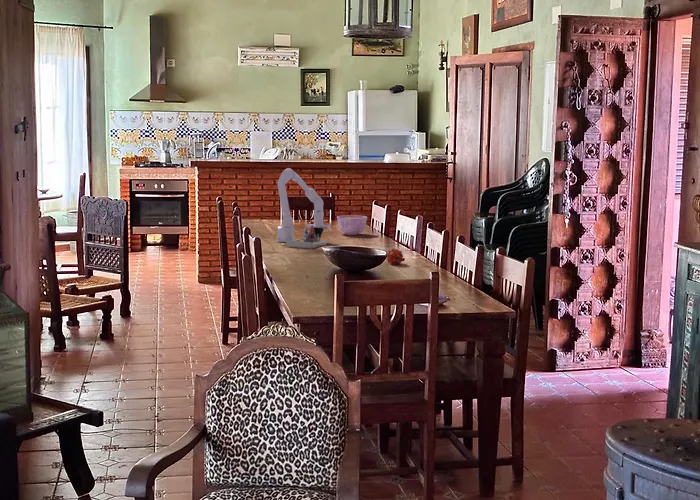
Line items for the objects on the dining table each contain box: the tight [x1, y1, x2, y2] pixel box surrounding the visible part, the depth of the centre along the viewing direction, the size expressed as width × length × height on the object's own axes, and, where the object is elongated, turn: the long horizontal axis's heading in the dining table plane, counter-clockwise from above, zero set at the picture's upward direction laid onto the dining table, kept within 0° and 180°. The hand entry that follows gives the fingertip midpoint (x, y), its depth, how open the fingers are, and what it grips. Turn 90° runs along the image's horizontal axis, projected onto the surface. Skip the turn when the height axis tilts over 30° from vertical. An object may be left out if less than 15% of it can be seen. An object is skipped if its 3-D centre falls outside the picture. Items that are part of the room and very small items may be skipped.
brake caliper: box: [301, 225, 321, 243], centre depth 509 cm, size 11×11×12 cm
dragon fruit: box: [387, 248, 406, 266], centre depth 438 cm, size 8×8×12 cm
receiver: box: [285, 238, 328, 249], centre depth 499 cm, size 19×19×4 cm
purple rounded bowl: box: [336, 214, 368, 236], centre depth 553 cm, size 20×20×12 cm
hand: (318, 240), depth 516 cm, fingers closed
